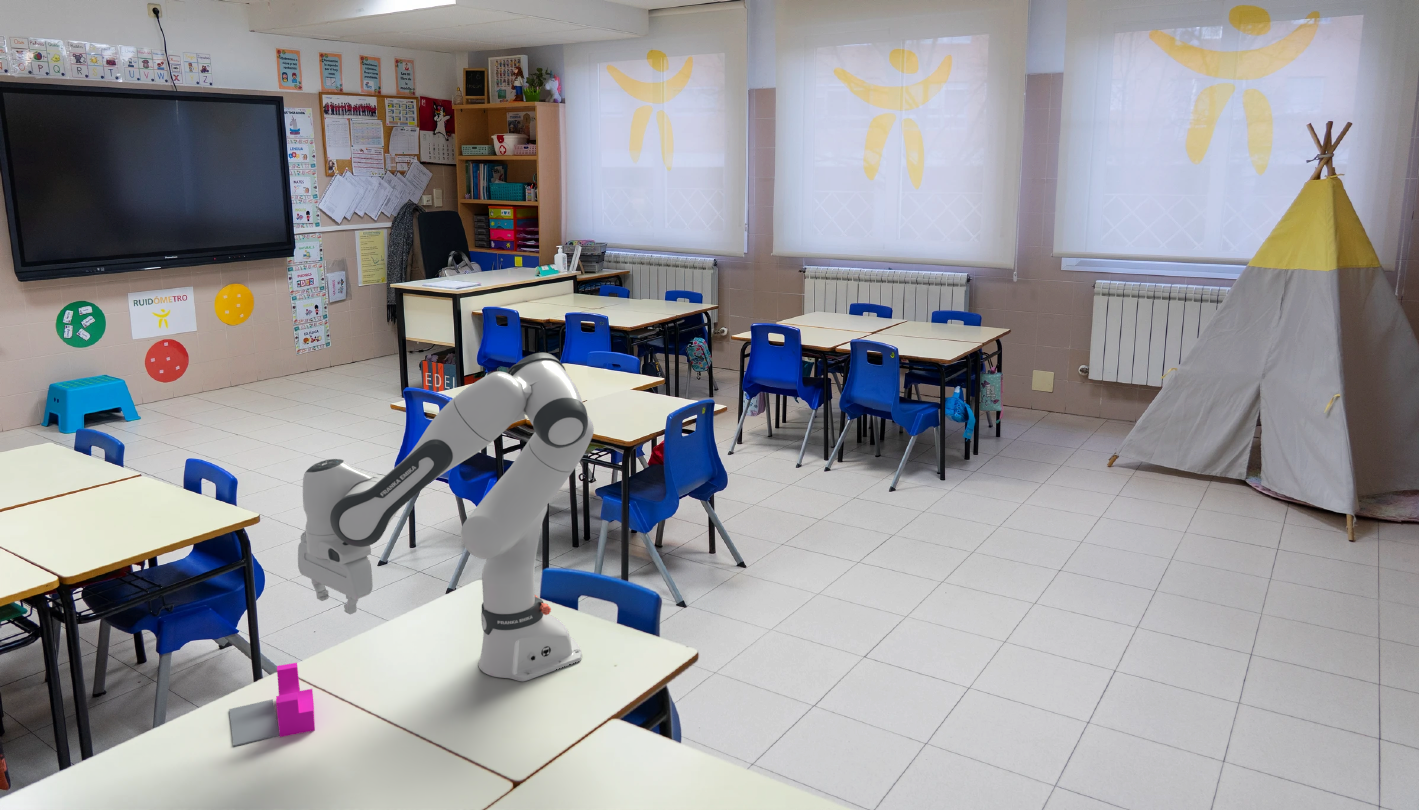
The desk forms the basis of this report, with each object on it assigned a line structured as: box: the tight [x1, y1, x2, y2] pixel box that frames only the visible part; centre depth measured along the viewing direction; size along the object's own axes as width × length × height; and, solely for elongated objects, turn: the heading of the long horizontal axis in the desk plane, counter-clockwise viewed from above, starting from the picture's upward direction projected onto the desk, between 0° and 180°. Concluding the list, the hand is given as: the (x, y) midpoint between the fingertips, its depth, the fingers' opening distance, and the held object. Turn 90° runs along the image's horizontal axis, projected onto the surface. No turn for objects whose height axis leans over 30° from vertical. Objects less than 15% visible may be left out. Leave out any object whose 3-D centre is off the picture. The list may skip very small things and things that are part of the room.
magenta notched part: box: [275, 662, 316, 738], centre depth 193 cm, size 15×6×8 cm, turn 23°
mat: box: [228, 699, 280, 748], centre depth 191 cm, size 8×14×1 cm, turn 28°
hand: (336, 605), depth 194 cm, fingers open, 8 cm apart
